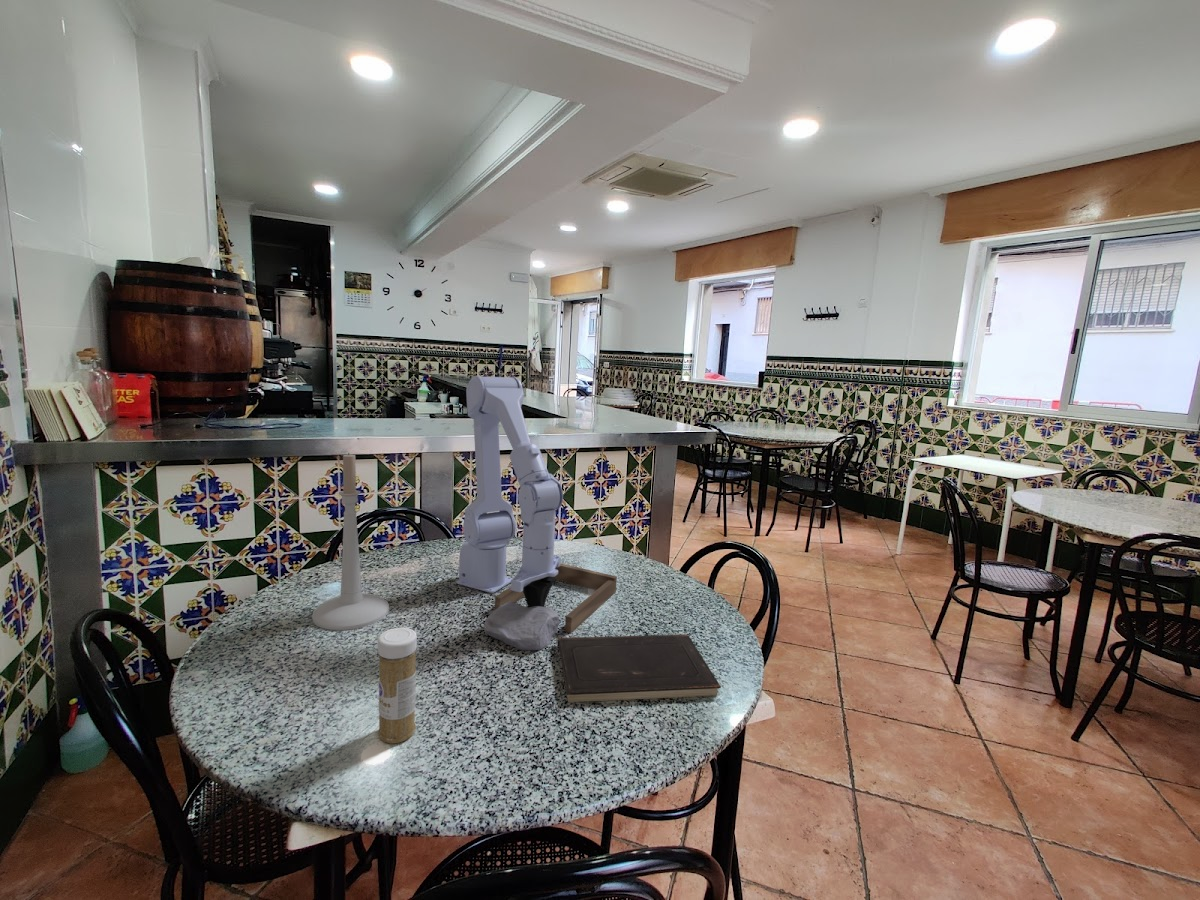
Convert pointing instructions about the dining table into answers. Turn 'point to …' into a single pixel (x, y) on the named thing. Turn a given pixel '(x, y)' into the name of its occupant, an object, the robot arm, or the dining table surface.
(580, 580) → the shelf lane
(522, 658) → the dining table surface
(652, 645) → the hardcover book
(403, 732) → the sprinkles bottle
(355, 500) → the candlestick
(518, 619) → the stone block
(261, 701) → the dining table surface
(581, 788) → the dining table surface
